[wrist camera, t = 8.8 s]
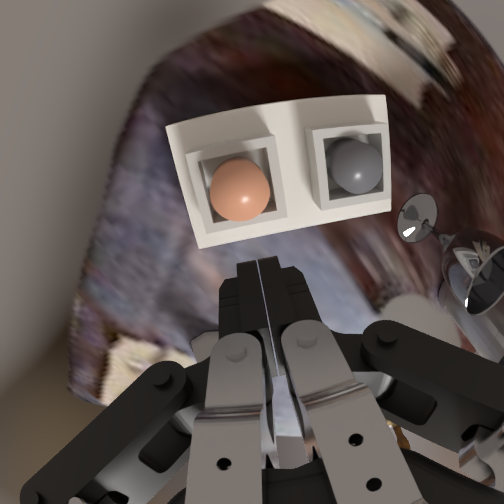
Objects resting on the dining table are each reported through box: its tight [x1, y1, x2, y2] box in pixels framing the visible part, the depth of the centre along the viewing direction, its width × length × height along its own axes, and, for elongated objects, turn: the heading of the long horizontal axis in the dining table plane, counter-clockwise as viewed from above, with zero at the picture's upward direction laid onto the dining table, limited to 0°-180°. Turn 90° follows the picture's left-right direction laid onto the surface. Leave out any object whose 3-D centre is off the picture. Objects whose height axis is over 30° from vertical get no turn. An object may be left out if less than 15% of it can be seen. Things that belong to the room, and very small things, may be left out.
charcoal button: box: [325, 138, 383, 194], centre depth 23 cm, size 4×4×3 cm
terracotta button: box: [210, 157, 270, 221], centre depth 22 cm, size 4×4×3 cm
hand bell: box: [386, 419, 410, 450], centre depth 50 cm, size 8×8×16 cm
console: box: [166, 94, 391, 249], centre depth 25 cm, size 20×12×6 cm, turn 100°
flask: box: [191, 331, 219, 363], centre depth 36 cm, size 7×7×10 cm
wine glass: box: [397, 193, 504, 316], centre depth 27 cm, size 8×8×15 cm
